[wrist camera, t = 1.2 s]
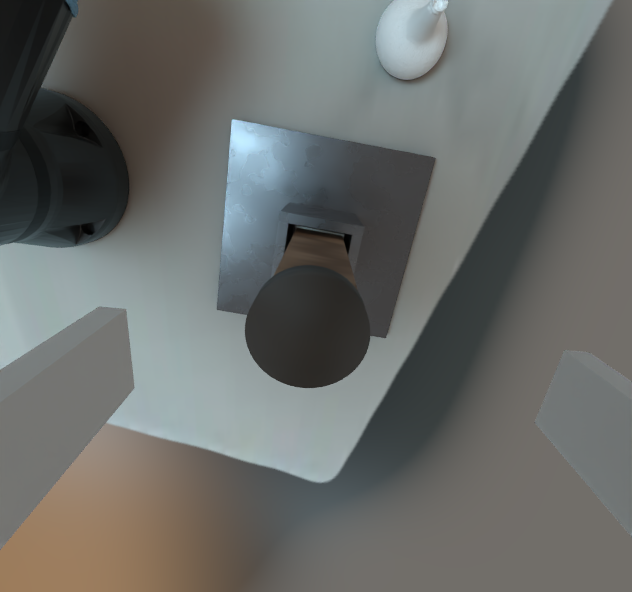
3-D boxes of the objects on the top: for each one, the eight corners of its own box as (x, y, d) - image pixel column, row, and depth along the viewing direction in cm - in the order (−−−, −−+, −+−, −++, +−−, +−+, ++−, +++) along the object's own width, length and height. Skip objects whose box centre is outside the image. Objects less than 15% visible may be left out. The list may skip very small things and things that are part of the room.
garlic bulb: (360, 31, 31) (372, -13, 24) (422, -15, 30) (454, -75, 22) (392, 96, 33) (412, 75, 25) (451, 56, 31) (491, 21, 24)
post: (286, 262, 36) (239, 377, 16) (294, 209, 34) (251, 264, 14) (338, 271, 37) (355, 396, 16) (348, 219, 35) (383, 287, 14)
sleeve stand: (219, 305, 40) (188, 346, 31) (235, 120, 34) (200, 101, 24) (384, 333, 41) (401, 381, 32) (431, 158, 34) (472, 153, 25)
